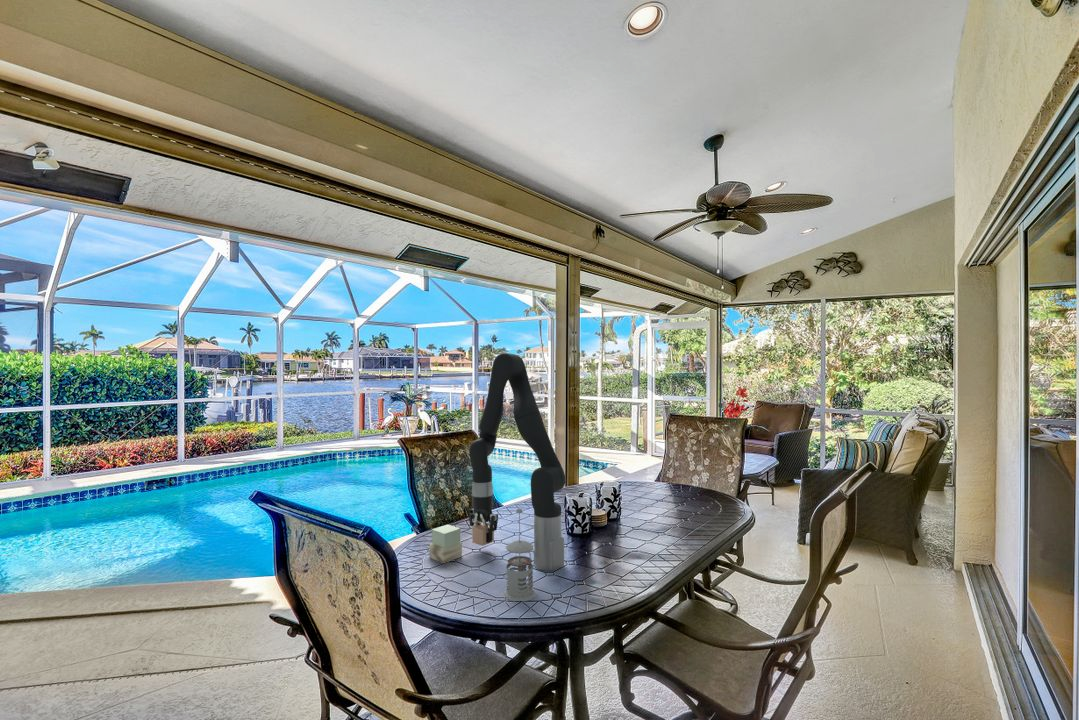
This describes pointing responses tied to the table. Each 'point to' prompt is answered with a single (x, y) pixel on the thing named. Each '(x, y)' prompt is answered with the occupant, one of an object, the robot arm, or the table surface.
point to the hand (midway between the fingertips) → (483, 540)
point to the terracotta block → (480, 535)
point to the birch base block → (445, 552)
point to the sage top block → (446, 536)
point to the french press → (520, 571)
